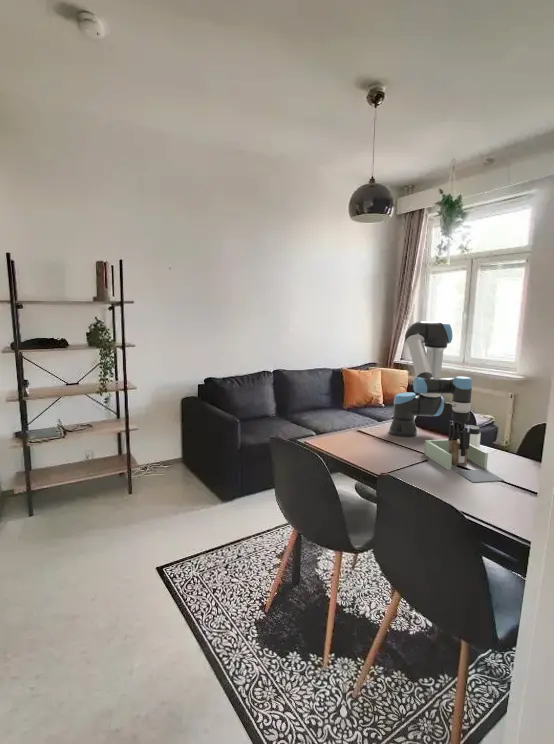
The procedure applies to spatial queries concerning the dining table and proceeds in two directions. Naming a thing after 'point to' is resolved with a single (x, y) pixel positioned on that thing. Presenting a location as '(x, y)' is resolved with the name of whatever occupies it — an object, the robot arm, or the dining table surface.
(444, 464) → the u-shaped enclosure
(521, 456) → the dining table surface
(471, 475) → the mat
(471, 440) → the jar
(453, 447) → the block
